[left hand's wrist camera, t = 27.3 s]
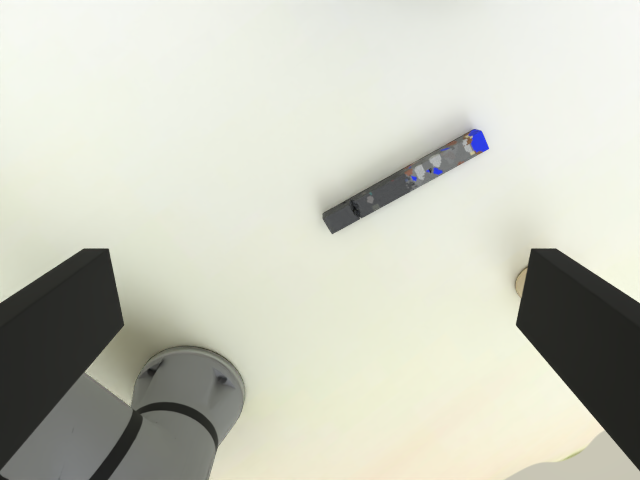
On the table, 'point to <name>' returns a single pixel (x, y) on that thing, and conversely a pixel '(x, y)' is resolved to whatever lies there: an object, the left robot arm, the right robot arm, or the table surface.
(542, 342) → the left robot arm
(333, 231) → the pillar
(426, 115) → the table surface
